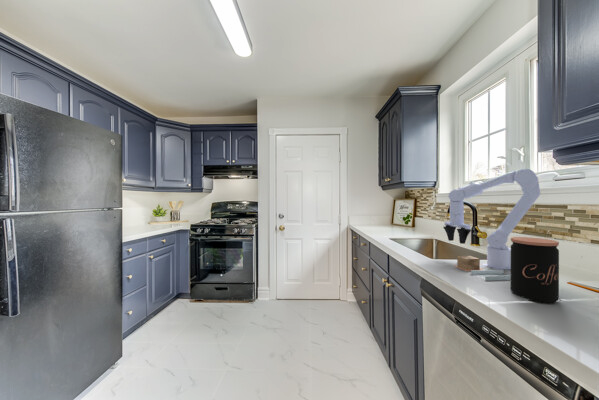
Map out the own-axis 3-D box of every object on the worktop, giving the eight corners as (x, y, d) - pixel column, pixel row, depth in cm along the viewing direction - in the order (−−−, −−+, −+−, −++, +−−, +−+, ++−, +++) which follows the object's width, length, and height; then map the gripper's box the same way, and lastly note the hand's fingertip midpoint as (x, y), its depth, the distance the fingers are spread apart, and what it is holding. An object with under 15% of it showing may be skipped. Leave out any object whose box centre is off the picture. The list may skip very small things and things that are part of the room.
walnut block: (470, 266, 104) (470, 255, 104) (479, 269, 99) (479, 258, 99) (457, 266, 103) (457, 256, 103) (466, 269, 98) (466, 259, 98)
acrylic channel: (502, 274, 94) (502, 269, 94) (520, 281, 87) (520, 275, 87) (470, 275, 93) (470, 270, 93) (485, 282, 86) (485, 276, 86)
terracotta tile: (471, 267, 105) (471, 265, 105) (484, 272, 98) (484, 270, 98) (454, 267, 104) (454, 265, 104) (466, 272, 97) (466, 270, 97)
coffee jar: (520, 301, 70) (520, 241, 70) (504, 288, 80) (504, 236, 80) (568, 307, 66) (568, 244, 66) (545, 293, 76) (545, 238, 76)
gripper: (438, 213, 122) (438, 239, 122) (460, 215, 107) (460, 245, 107) (451, 213, 122) (451, 239, 122) (474, 215, 108) (474, 244, 108)
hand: (456, 241), depth 115 cm, fingers open, 7 cm apart
